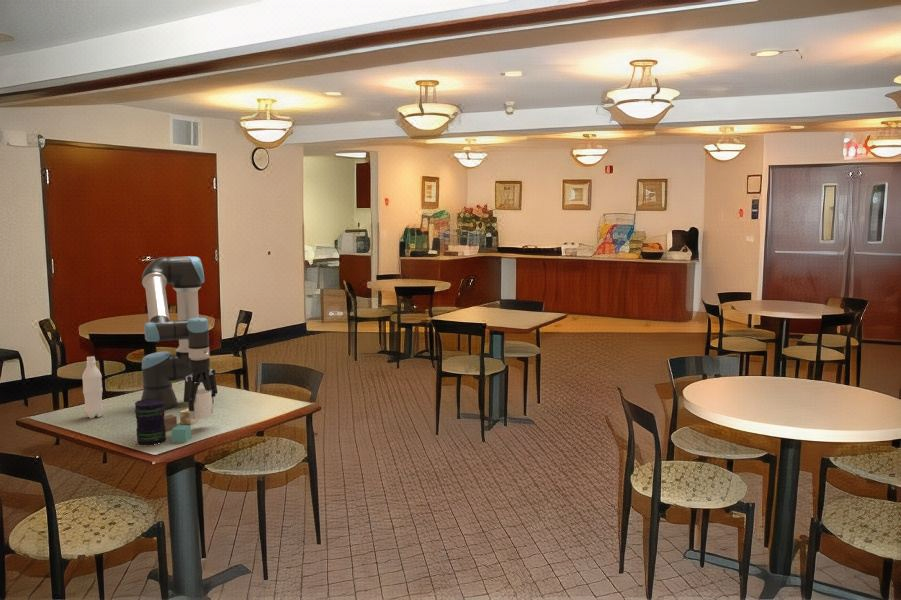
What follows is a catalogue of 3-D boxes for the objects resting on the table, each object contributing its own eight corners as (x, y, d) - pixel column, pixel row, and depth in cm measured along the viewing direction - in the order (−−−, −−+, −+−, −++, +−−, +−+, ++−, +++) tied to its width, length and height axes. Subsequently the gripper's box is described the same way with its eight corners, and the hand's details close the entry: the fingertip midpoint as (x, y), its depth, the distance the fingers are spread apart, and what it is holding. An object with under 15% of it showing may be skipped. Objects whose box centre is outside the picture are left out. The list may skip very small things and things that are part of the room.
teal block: (172, 442, 256) (171, 429, 255) (177, 438, 261) (177, 425, 260) (185, 442, 256) (185, 429, 255) (191, 438, 261) (190, 425, 260)
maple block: (180, 424, 279) (179, 411, 279) (188, 420, 284) (187, 408, 283) (191, 425, 278) (190, 412, 277) (199, 421, 283) (198, 409, 282)
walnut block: (158, 429, 272) (157, 416, 272) (170, 426, 276) (170, 414, 275) (164, 431, 269) (164, 419, 268) (177, 428, 273) (176, 416, 272)
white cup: (205, 420, 268) (204, 394, 267) (186, 418, 269) (185, 393, 268) (216, 414, 276) (215, 389, 274) (198, 412, 277) (197, 388, 276)
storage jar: (172, 439, 260) (170, 399, 258) (151, 447, 251) (149, 406, 249) (152, 436, 263) (149, 397, 262) (130, 443, 254) (128, 403, 253)
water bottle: (92, 413, 294) (89, 355, 291) (108, 414, 292) (104, 355, 290) (80, 418, 287) (76, 358, 284) (96, 419, 285) (92, 359, 283)
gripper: (185, 364, 259) (188, 424, 262) (226, 354, 277) (228, 410, 280) (170, 362, 262) (173, 421, 265) (211, 352, 280) (214, 407, 283)
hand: (201, 415), depth 272 cm, fingers closed on white cup, 8 cm apart
